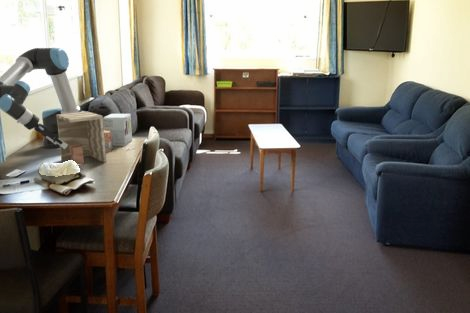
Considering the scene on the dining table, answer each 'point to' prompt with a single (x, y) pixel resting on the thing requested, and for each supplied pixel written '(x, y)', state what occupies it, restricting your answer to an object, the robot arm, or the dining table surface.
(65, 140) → the open side box
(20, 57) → the robot arm
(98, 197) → the dining table surface
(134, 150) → the dining table surface
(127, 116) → the supplement box
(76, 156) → the terracotta block
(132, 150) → the dining table surface
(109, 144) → the stack of blocks
